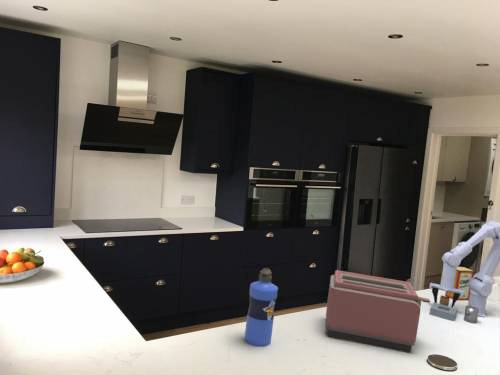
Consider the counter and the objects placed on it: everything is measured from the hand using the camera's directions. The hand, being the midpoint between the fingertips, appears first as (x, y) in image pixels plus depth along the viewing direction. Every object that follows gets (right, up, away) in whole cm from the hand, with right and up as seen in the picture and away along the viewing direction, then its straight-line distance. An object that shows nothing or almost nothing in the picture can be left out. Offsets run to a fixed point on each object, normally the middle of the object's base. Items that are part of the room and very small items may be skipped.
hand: (443, 306), depth 203 cm
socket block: (-4, -2, -7) cm, 8 cm away
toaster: (-45, 0, -40) cm, 61 cm away
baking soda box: (+17, -2, +21) cm, 27 cm away
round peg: (+7, -4, -11) cm, 14 cm away
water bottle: (-89, +4, -56) cm, 105 cm away
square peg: (0, -2, 0) cm, 2 cm away
